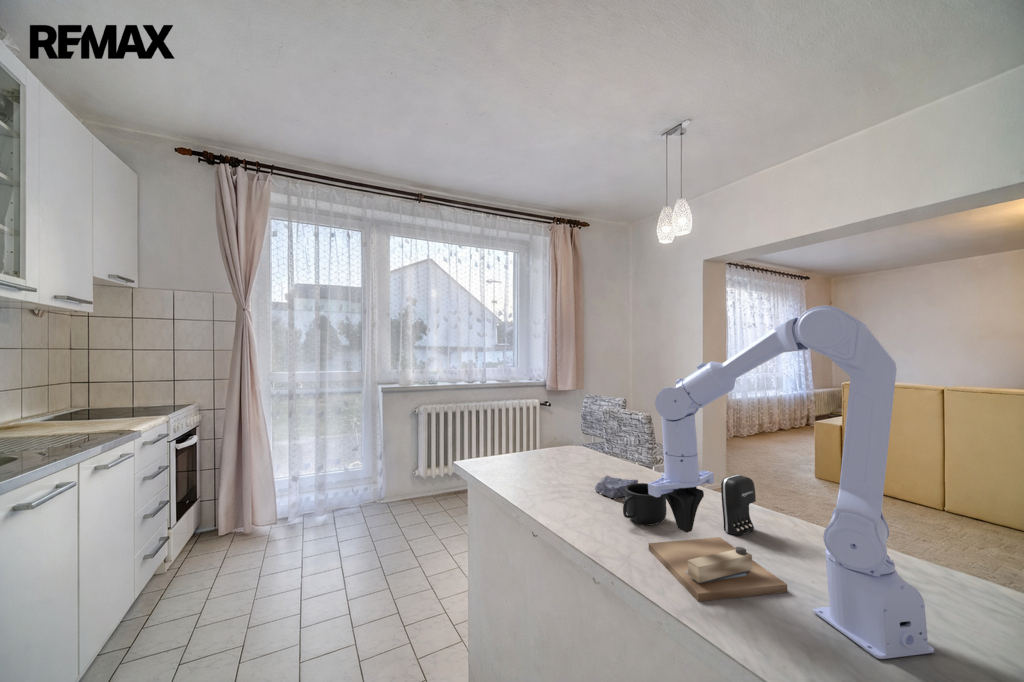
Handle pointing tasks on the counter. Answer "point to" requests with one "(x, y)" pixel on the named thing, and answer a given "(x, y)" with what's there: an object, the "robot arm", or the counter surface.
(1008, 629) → the counter surface
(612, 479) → the rock
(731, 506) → the battery charger
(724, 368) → the robot arm
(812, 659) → the counter surface
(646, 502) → the mug
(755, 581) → the board
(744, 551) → the leg
